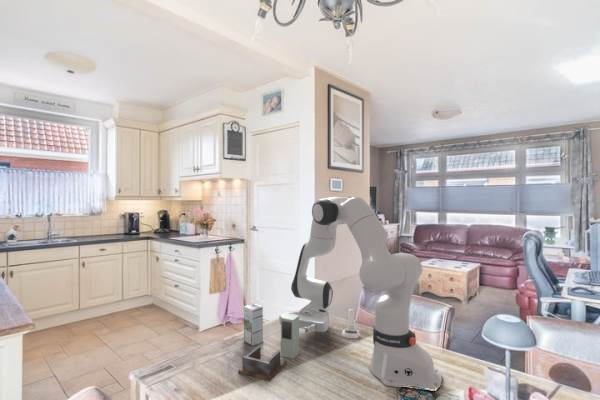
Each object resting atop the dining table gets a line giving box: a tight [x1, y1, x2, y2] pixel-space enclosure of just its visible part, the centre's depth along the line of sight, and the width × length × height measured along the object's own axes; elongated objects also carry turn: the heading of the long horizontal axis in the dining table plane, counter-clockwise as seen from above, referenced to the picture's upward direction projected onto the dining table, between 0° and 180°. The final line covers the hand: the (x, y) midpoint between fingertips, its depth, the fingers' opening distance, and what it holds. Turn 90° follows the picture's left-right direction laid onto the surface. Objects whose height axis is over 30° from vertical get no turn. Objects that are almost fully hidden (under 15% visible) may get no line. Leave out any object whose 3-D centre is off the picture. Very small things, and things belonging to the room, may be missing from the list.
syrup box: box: [243, 303, 264, 347], centre depth 128 cm, size 6×6×14 cm
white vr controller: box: [341, 308, 361, 340], centre depth 136 cm, size 8×12×7 cm
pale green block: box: [280, 313, 300, 360], centre depth 117 cm, size 5×6×14 cm
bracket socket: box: [237, 345, 288, 382], centre depth 108 cm, size 12×12×5 cm
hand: (295, 328), depth 122 cm, fingers open, 8 cm apart
